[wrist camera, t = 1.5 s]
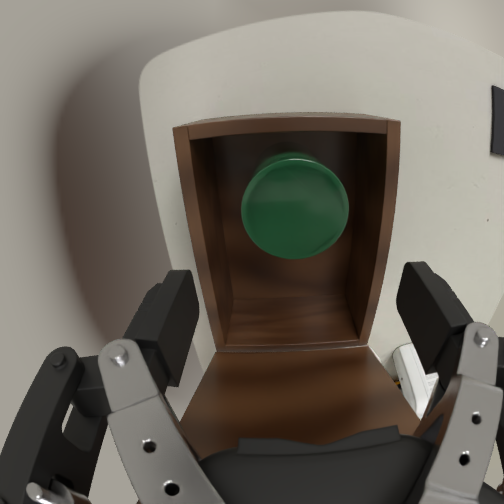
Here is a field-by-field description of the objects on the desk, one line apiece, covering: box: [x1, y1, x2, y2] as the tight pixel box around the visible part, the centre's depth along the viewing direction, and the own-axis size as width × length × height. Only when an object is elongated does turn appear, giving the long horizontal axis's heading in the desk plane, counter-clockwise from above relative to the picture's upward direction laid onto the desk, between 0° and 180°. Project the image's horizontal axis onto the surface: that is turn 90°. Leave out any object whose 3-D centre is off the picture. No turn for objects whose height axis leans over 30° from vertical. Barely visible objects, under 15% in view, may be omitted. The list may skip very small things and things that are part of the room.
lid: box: [137, 346, 420, 504], centre depth 14 cm, size 21×14×5 cm
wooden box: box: [173, 112, 401, 352], centre depth 24 cm, size 20×14×8 cm
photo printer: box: [393, 343, 439, 418], centre depth 31 cm, size 10×4×12 cm, turn 97°
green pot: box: [241, 142, 349, 259], centre depth 20 cm, size 6×6×9 cm
